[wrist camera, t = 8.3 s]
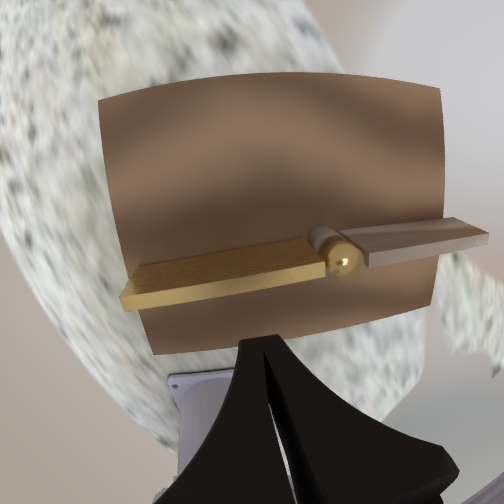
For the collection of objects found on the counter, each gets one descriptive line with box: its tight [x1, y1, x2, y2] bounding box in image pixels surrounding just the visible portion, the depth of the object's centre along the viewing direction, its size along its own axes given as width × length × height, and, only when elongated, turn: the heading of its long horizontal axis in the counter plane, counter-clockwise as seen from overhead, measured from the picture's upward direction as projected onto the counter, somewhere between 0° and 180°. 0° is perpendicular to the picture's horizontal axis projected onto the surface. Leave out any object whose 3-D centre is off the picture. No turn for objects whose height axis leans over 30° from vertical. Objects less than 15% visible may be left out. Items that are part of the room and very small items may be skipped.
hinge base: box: [98, 72, 489, 355], centre depth 16 cm, size 17×23×5 cm
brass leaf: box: [119, 236, 364, 312], centre depth 15 cm, size 12×2×4 cm, turn 98°
